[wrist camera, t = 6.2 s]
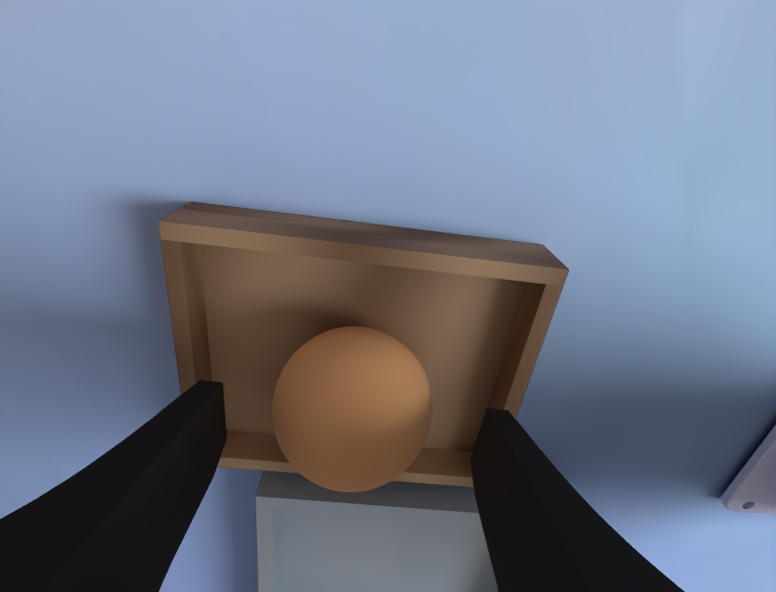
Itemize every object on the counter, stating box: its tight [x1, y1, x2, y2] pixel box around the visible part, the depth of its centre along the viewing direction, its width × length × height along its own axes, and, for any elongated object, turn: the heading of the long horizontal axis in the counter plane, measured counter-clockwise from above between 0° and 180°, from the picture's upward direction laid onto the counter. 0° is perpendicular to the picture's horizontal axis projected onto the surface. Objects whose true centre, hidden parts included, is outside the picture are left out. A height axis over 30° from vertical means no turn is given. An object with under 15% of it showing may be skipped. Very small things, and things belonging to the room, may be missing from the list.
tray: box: [158, 202, 569, 487], centre depth 14 cm, size 11×9×2 cm
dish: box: [256, 470, 498, 592], centre depth 19 cm, size 12×12×2 cm
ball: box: [272, 326, 433, 492], centre depth 12 cm, size 5×5×5 cm
